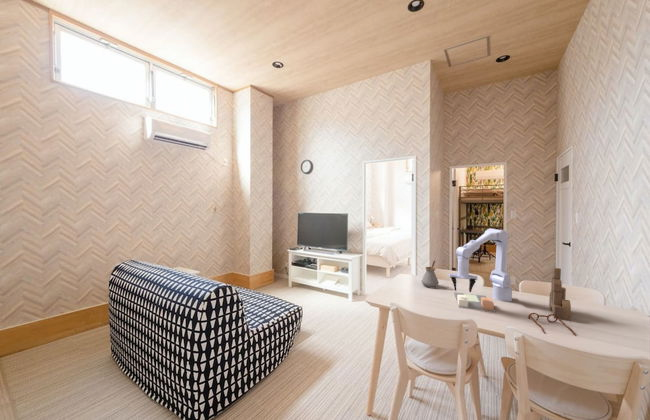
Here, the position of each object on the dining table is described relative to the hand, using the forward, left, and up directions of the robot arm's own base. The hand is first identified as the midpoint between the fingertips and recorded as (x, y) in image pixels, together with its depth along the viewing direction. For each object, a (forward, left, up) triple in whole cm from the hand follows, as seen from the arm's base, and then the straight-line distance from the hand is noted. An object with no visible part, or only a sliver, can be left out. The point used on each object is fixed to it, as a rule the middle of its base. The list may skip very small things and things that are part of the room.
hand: (462, 290), depth 153 cm
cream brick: (0, 0, -8) cm, 8 cm away
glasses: (-37, +14, -10) cm, 40 cm away
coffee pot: (+15, -34, -9) cm, 38 cm away
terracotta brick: (-13, 0, -8) cm, 15 cm away
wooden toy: (-48, -5, -9) cm, 49 cm away
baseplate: (-7, -6, -9) cm, 13 cm away
